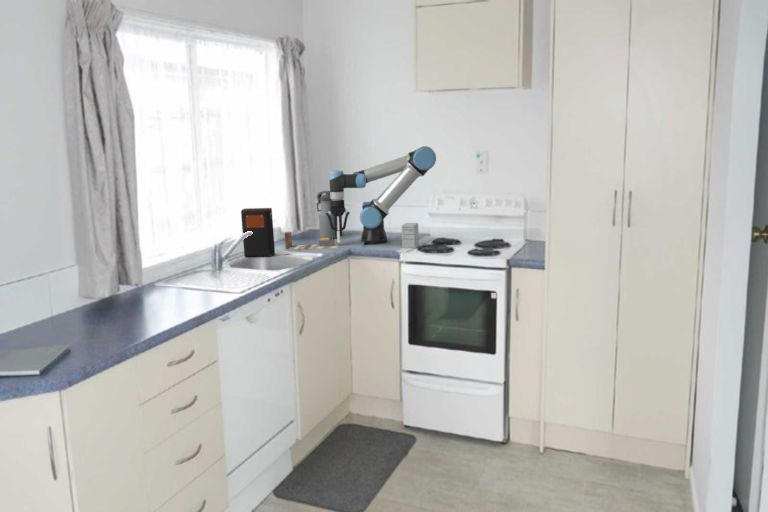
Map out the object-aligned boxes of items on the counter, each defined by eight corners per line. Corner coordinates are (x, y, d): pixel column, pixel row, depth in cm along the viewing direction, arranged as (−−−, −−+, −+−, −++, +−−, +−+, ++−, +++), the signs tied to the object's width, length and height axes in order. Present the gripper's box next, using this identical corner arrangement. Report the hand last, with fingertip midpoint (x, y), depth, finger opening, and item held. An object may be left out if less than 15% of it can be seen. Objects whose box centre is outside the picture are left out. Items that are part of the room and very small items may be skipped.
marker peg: (292, 248, 380) (291, 232, 378) (291, 249, 377) (290, 233, 375) (286, 248, 380) (285, 232, 378) (285, 249, 377) (284, 233, 376)
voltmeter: (276, 254, 365) (272, 207, 360) (272, 257, 357) (268, 209, 352) (247, 254, 367) (243, 207, 362) (242, 257, 358) (238, 210, 354)
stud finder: (334, 244, 379) (334, 237, 378) (333, 246, 375) (333, 238, 374) (320, 245, 380) (319, 238, 379) (319, 246, 376) (318, 239, 375)
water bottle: (316, 239, 406) (313, 192, 401) (324, 236, 415) (321, 190, 410) (332, 239, 402) (329, 192, 397) (339, 237, 411) (336, 190, 406)
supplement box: (406, 245, 375) (405, 222, 372) (419, 246, 372) (418, 222, 370) (401, 248, 368) (401, 224, 366) (415, 248, 365) (414, 225, 363)
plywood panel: (340, 246, 381) (340, 244, 380) (337, 250, 369) (337, 248, 369) (297, 247, 382) (297, 245, 382) (293, 251, 371) (293, 249, 370)
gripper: (350, 198, 375) (351, 241, 380) (326, 198, 376) (328, 241, 381) (348, 199, 368) (350, 243, 373) (324, 200, 369) (326, 243, 373)
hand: (338, 242), depth 377 cm, fingers closed
